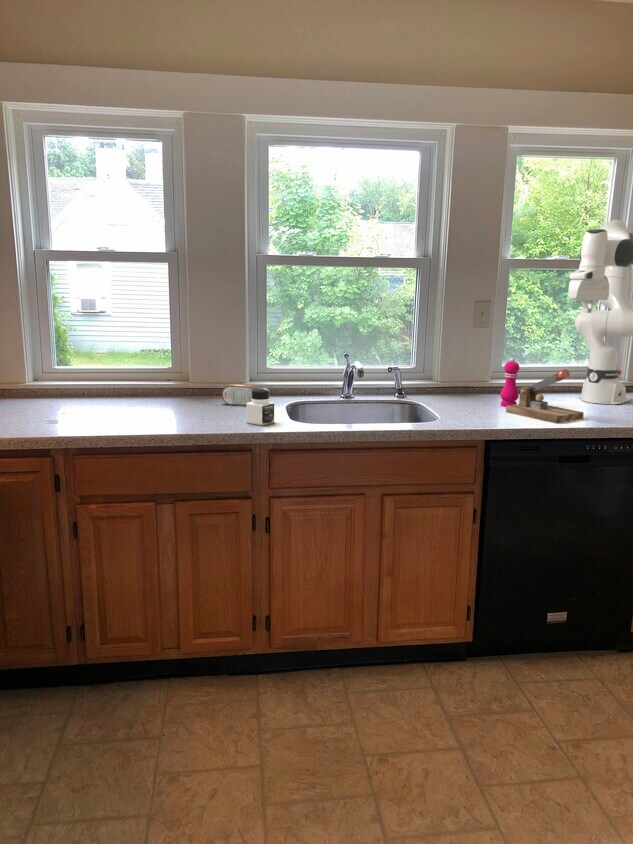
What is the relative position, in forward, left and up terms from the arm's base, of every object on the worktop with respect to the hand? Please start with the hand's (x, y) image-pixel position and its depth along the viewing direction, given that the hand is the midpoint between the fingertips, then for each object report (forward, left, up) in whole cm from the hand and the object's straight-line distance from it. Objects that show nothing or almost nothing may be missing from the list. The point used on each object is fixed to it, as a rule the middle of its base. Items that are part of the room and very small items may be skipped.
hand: (587, 312), depth 235 cm
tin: (+104, -80, -39) cm, 137 cm away
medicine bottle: (+112, -48, -39) cm, 128 cm away
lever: (+11, -7, -28) cm, 31 cm away
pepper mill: (+8, -26, -39) cm, 48 cm away
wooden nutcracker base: (+11, -6, -39) cm, 41 cm away
